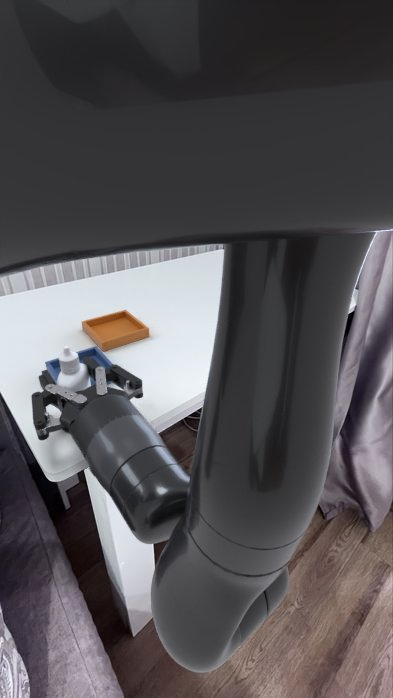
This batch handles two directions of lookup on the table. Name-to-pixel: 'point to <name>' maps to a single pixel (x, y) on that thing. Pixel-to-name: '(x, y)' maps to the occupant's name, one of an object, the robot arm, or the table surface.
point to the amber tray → (115, 330)
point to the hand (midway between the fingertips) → (66, 368)
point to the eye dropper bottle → (72, 372)
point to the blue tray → (92, 352)
